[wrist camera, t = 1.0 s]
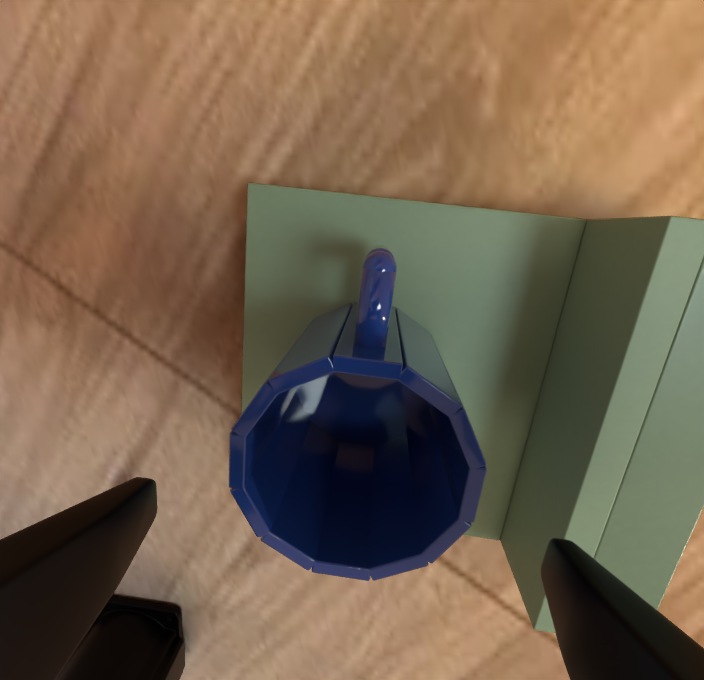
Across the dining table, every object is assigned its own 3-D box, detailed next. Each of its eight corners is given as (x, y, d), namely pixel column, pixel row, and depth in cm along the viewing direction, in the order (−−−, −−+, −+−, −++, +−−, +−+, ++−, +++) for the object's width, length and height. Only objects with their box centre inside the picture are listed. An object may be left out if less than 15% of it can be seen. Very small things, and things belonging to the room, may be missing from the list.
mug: (285, 435, 18) (226, 560, 11) (298, 233, 15) (232, 237, 9) (428, 455, 18) (457, 595, 11) (467, 252, 15) (536, 272, 8)
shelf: (258, 465, 22) (198, 578, 15) (270, 189, 18) (194, 164, 11) (555, 507, 21) (642, 647, 14) (642, 230, 17) (828, 232, 10)
